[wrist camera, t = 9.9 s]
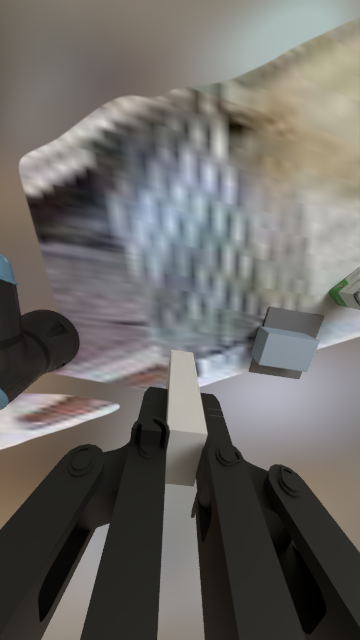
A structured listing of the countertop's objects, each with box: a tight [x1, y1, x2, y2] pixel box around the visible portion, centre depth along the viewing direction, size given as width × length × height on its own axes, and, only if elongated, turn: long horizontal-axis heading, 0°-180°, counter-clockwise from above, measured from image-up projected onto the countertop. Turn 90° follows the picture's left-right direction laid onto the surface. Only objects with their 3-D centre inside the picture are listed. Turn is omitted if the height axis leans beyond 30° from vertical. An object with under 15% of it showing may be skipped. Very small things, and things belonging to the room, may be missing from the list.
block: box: [251, 326, 319, 372], centre depth 45 cm, size 5×8×12 cm
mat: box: [249, 307, 324, 379], centre depth 48 cm, size 14×18×1 cm
